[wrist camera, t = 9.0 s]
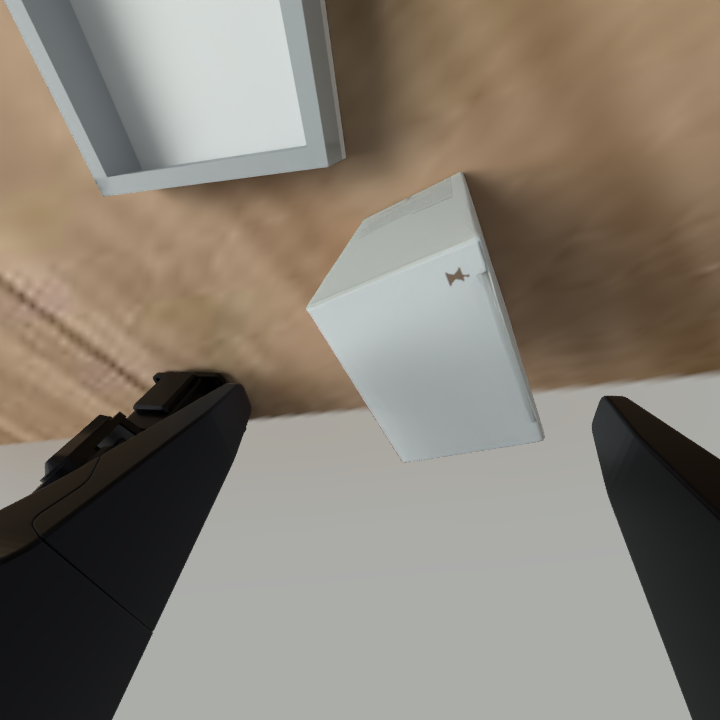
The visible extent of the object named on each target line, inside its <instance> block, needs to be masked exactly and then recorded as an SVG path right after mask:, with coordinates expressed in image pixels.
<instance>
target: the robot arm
mask: <svg viewBox="0 0 720 720" xmlns="http://www.w3.org/2000/svg"><path fill="white" fill-rule="evenodd" d="M153 380H154V381H155V383H156V384H155V385H154V386H153V387H152V388H151V389H150V390H149V391H148V392H147V393H146V394H145V395H144V396H143V397H142V398H141V399H140V400H138V401H137V402H136V403H135V405H134V406H133V409H134V410H135V411H134V412H133V413H132V414H131V415H130V416H129V417H128V418H125V417H126V416H125V415H124V414H122V413H121V412H119V413H118V414H116V415H115V416H114V417H113V418H112V417H110V416H109V417H108V416H104V415H99V416H98V417H96V418H95V419H94V420H93V421H92V422H91V423H90V424H89V425H87V426H86V427H85V428H84V429H83V430H82V431H81V432H80V433H78V434H77V435H76V436H75V437H74V438H73V439H72V440H70V441H69V442H68V443H67V444H66V445H65V446H63V447H62V448H61V449H60V450H59V451H58V452H57V453H55V454H54V455H53V456H52V457H51V458H50V459H49V460H48V461H46V463H45V476H44V477H43V478H42V479H41V480H40V481H41V482H43V483H42V484H41V485H40V486H39V487H38V488H37V489H36V490H35V491H34V492H33V493H32V494H30V495H29V496H27V497H25V498H23V499H21V500H19V501H17V502H15V503H13V504H11V505H9V506H7V507H5V508H3V509H2V510H0V720H112V719H113V716H114V714H115V712H116V710H117V708H118V706H119V704H120V702H121V699H122V697H123V695H124V693H125V691H126V688H127V687H128V685H129V682H130V680H131V678H132V676H133V674H134V672H135V670H136V668H137V666H138V663H139V661H140V659H141V657H142V655H143V653H144V651H145V649H146V646H147V644H148V642H149V640H150V638H151V636H152V634H153V633H152V631H153V630H154V629H155V627H156V625H157V623H158V620H159V618H160V616H161V614H162V612H163V610H164V608H165V606H166V604H167V601H168V599H169V597H170V595H171V593H172V591H173V589H174V587H175V585H176V582H177V580H178V578H179V576H180V574H181V572H182V569H183V568H184V565H185V563H186V561H187V559H188V557H189V555H190V553H191V551H192V548H193V546H194V544H195V542H196V540H197V538H198V536H199V534H200V532H201V529H202V527H203V525H204V523H205V521H206V519H207V517H208V515H209V512H210V510H211V508H212V506H213V504H214V502H215V500H216V498H217V495H218V493H219V491H220V489H221V487H222V485H223V483H224V481H225V479H226V476H227V474H228V472H229V470H230V468H231V466H232V463H233V461H234V459H235V456H236V454H237V451H238V448H239V445H240V442H241V439H242V436H243V434H244V432H245V430H246V425H247V422H248V419H249V417H250V414H251V404H250V401H249V399H248V396H247V394H246V391H245V389H244V387H243V385H242V384H240V383H226V381H225V379H224V377H223V376H222V375H220V374H217V373H160V372H159V373H157V374H156V375H154V376H153ZM592 433H593V437H594V441H595V445H596V449H597V454H598V458H599V462H600V466H601V470H602V474H603V478H604V482H605V486H606V490H607V494H608V497H609V500H610V502H611V505H612V508H613V510H614V513H615V516H616V518H617V521H618V524H619V526H620V529H621V532H622V534H623V537H624V539H625V542H626V545H627V548H628V550H629V553H630V556H631V558H632V561H633V563H634V566H635V569H636V572H637V574H638V577H639V580H640V582H641V585H642V587H643V590H644V593H645V595H646V598H647V601H648V603H649V606H650V609H651V611H652V614H653V616H654V619H655V622H656V625H657V627H658V630H659V632H660V635H661V638H662V640H663V643H664V646H665V648H666V651H667V654H668V656H669V659H670V662H671V664H672V667H673V670H674V672H675V675H676V678H677V680H678V683H679V686H680V688H681V691H682V694H683V696H684V699H685V701H686V704H687V707H688V709H689V712H690V715H691V717H692V720H720V459H719V458H717V457H716V456H714V455H713V454H711V453H710V452H708V451H707V450H705V449H704V448H702V447H701V446H699V445H697V444H696V443H695V442H693V441H692V440H690V439H688V438H687V437H685V436H684V435H682V434H681V433H679V432H678V431H676V430H675V429H673V428H672V427H670V426H669V425H667V424H666V423H664V422H663V421H661V420H660V419H658V418H657V417H655V416H654V415H652V414H651V413H649V412H647V411H646V410H645V409H643V408H641V407H640V406H639V405H637V404H636V403H634V402H633V401H631V400H629V399H628V398H626V397H623V396H604V397H602V398H601V400H600V402H599V405H598V408H597V410H596V413H595V416H594V419H593V422H592Z"/></svg>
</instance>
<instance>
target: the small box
mask: <svg viewBox="0 0 720 720" xmlns="http://www.w3.org/2000/svg"><path fill="white" fill-rule="evenodd" d="M306 311H307V312H308V314H309V315H310V317H311V318H312V320H313V321H314V323H315V325H316V326H317V328H318V329H319V331H320V333H321V334H322V336H323V337H324V339H325V341H326V342H327V344H328V345H329V347H330V349H331V350H332V352H333V353H334V355H335V356H336V358H337V359H338V361H339V363H340V364H341V366H342V367H343V369H344V371H345V372H346V374H347V375H348V377H349V378H350V380H351V381H352V383H353V385H354V386H355V388H356V389H357V391H358V393H359V394H360V396H361V397H362V399H363V401H364V402H365V404H366V405H367V407H368V408H369V410H370V412H371V413H372V415H373V416H374V418H375V419H376V421H377V423H378V424H379V426H380V427H381V429H382V431H383V432H384V434H385V435H386V437H387V438H388V440H389V442H390V443H391V445H392V447H393V448H394V450H395V451H396V453H397V455H398V456H399V458H400V460H401V461H402V462H411V461H419V460H425V459H433V458H439V457H445V456H451V455H458V454H465V453H471V452H478V451H484V450H490V449H496V448H503V447H509V446H516V445H522V444H528V443H534V442H539V441H542V440H543V439H544V438H545V437H544V432H543V428H542V425H541V422H540V418H539V415H538V412H537V408H536V405H535V402H534V398H533V395H532V392H531V388H530V385H529V382H528V379H527V375H526V372H525V369H524V366H523V362H522V359H521V356H520V352H519V349H518V346H517V343H516V339H515V336H514V333H513V329H512V326H511V322H510V319H509V316H508V312H507V309H506V306H505V303H504V300H503V296H502V293H501V290H500V287H499V284H498V281H497V278H496V275H495V272H494V269H493V266H492V263H491V260H490V256H489V253H488V250H487V247H486V243H485V240H484V237H483V233H482V230H481V227H480V224H479V220H478V217H477V214H476V211H475V208H474V204H473V201H472V198H471V195H470V192H469V189H468V186H467V183H466V180H465V177H464V175H463V173H462V172H459V173H457V174H455V175H453V176H451V177H449V178H447V179H445V180H443V181H441V182H439V183H437V184H435V185H433V186H431V187H429V188H427V189H425V190H423V191H421V192H419V193H417V194H414V195H412V196H410V197H408V198H406V199H404V200H402V201H400V202H398V203H396V204H394V205H392V206H390V207H388V208H386V209H384V210H382V211H380V212H378V213H376V214H374V215H372V216H370V217H368V218H366V219H364V220H363V222H362V223H361V225H360V226H359V228H358V229H357V231H356V232H355V234H354V235H353V237H352V238H351V240H350V241H349V243H348V244H347V246H346V247H345V249H344V250H343V252H342V253H341V255H340V256H339V258H338V260H337V261H336V263H335V264H334V266H333V267H332V269H331V270H330V272H329V273H328V274H327V276H326V277H325V279H324V280H323V282H322V284H321V285H320V287H319V288H318V290H317V292H316V293H315V295H314V296H313V298H312V299H311V301H310V302H309V304H308V306H307V308H306Z"/></svg>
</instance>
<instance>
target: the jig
mask: <svg viewBox="0 0 720 720" xmlns="http://www.w3.org/2000/svg"><path fill="white" fill-rule="evenodd" d="M4 1H5V3H6V5H7V7H8V9H9V11H10V13H11V15H12V17H13V19H14V21H15V23H16V25H17V27H18V29H19V31H20V33H21V35H22V37H23V39H24V41H25V43H26V45H27V47H28V49H29V51H30V53H31V55H32V57H33V59H34V61H35V63H36V65H37V67H38V69H39V71H40V73H41V75H42V76H43V78H44V80H45V82H46V84H47V86H48V88H49V90H50V92H51V94H52V96H53V98H54V100H55V102H56V104H57V106H58V108H59V110H60V112H61V114H62V116H63V118H64V120H65V122H66V124H67V126H68V128H69V130H70V132H71V134H72V136H73V138H74V140H75V142H76V144H77V146H78V148H79V150H80V152H81V154H82V156H83V158H84V160H85V162H86V164H87V166H88V168H89V170H90V172H91V174H92V176H93V178H94V180H95V182H96V184H97V185H98V187H99V189H100V191H101V193H102V195H103V196H111V195H119V194H126V193H134V192H141V191H149V190H157V189H164V188H172V187H179V186H187V185H195V184H202V183H210V182H217V181H225V180H233V179H240V178H248V177H255V176H263V175H270V174H278V173H286V172H293V171H301V170H308V169H316V168H324V167H329V166H331V165H333V164H335V163H337V162H339V161H341V160H343V159H345V158H346V153H345V145H344V138H343V131H342V123H341V116H340V108H339V101H338V94H337V86H336V79H335V71H334V64H333V57H332V49H331V42H330V35H329V27H328V20H327V12H326V5H325V0H4Z"/></svg>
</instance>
